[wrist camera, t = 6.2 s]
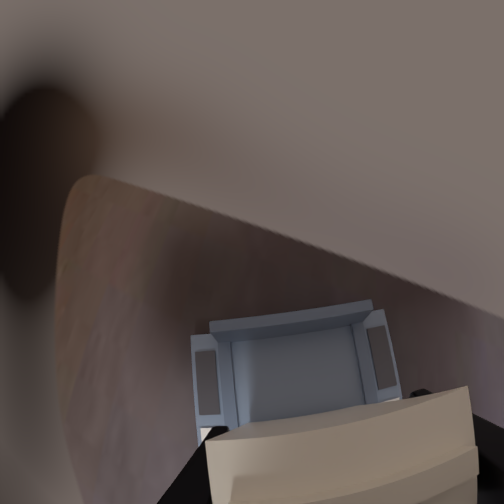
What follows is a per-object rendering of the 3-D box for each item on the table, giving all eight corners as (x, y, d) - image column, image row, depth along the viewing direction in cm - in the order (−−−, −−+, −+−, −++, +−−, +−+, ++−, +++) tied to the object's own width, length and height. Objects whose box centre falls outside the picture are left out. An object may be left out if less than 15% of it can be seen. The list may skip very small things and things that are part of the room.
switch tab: (363, 463, 11) (489, 516, 3) (255, 481, 11) (220, 587, 3) (356, 405, 12) (481, 381, 4) (248, 422, 12) (198, 443, 4)
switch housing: (407, 570, 7) (427, 589, 5) (227, 601, 8) (218, 627, 5) (378, 311, 16) (397, 290, 13) (194, 336, 16) (178, 319, 13)
